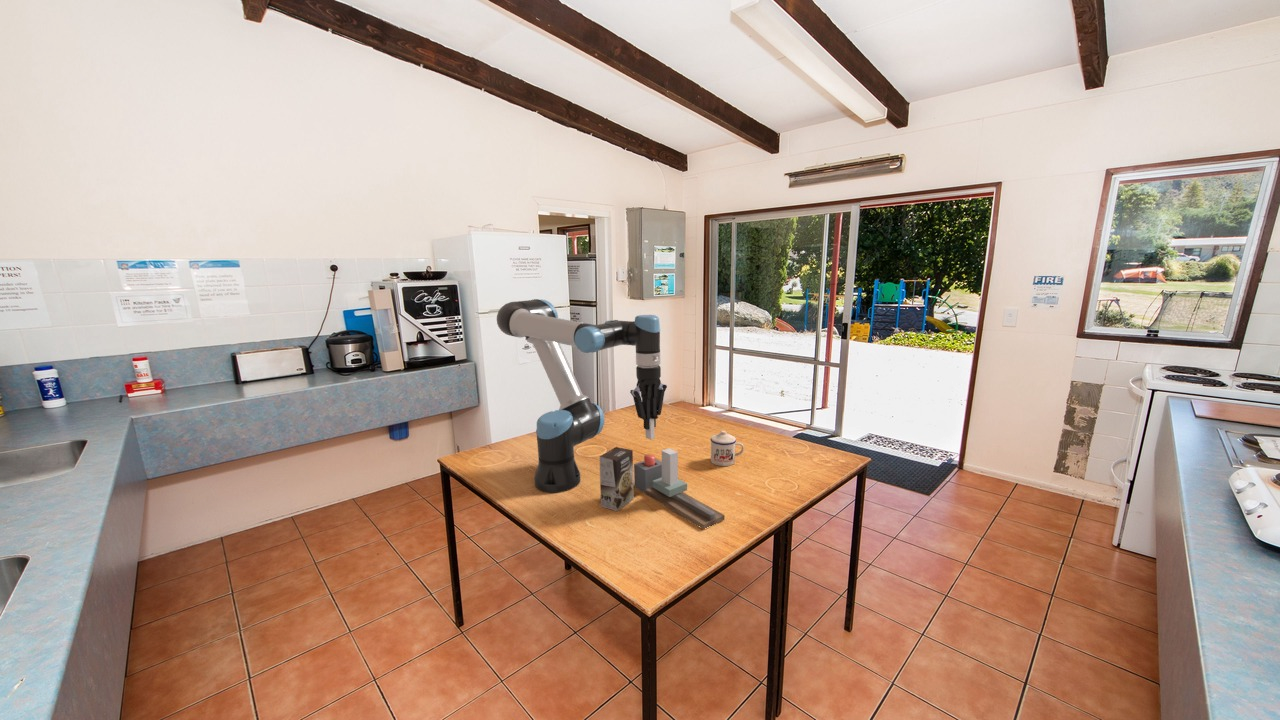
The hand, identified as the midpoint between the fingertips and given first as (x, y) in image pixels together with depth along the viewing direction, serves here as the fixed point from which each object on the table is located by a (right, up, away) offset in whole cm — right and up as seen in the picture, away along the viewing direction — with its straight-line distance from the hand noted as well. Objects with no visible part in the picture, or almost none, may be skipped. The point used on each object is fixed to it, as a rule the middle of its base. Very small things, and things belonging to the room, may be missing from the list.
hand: (650, 438), depth 148 cm
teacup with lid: (+28, -12, +22) cm, 38 cm away
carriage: (+6, -15, -5) cm, 17 cm away
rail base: (+10, -19, -9) cm, 23 cm away
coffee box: (-10, -19, -6) cm, 22 cm away
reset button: (0, -11, +2) cm, 11 cm away
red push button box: (0, -16, +4) cm, 17 cm away
